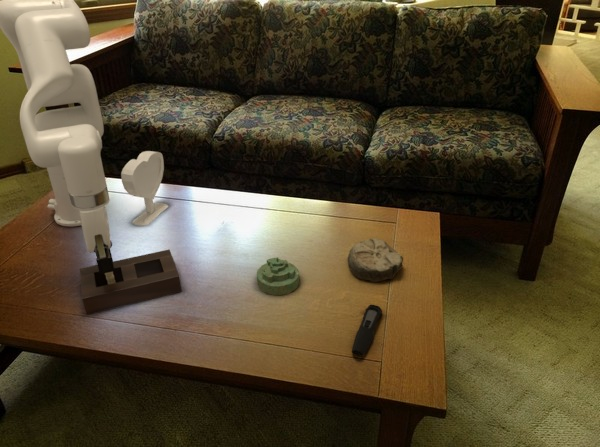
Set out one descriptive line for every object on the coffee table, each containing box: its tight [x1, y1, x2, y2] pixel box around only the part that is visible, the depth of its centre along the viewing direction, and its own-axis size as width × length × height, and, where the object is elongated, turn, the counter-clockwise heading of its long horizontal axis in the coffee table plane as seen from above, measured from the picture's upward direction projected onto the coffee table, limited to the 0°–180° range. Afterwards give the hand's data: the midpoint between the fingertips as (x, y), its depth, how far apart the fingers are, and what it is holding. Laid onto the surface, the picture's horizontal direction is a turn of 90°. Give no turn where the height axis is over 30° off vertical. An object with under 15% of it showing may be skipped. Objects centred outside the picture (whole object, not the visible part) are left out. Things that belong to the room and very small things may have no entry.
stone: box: [347, 237, 404, 283], centre depth 128 cm, size 13×13×5 cm
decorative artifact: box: [256, 257, 300, 296], centre depth 123 cm, size 10×7×10 cm
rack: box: [79, 249, 182, 315], centre depth 121 cm, size 12×21×4 cm, turn 113°
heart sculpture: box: [120, 150, 169, 226], centre depth 148 cm, size 16×5×18 cm, turn 162°
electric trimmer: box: [351, 304, 383, 357], centre depth 108 cm, size 4×16×3 cm, turn 159°
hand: (106, 267), depth 117 cm, fingers closed on toy lamp, 2 cm apart
